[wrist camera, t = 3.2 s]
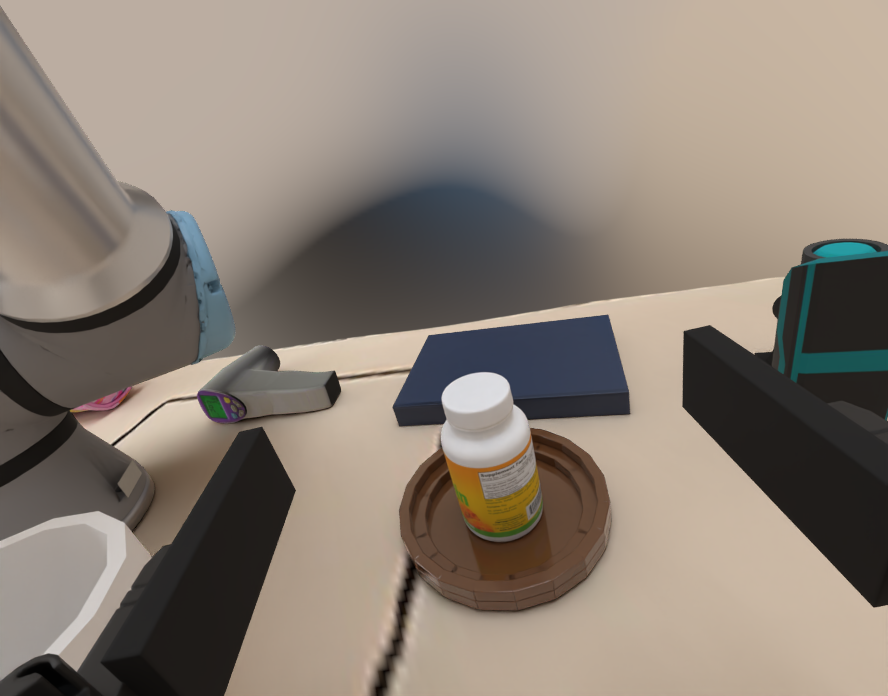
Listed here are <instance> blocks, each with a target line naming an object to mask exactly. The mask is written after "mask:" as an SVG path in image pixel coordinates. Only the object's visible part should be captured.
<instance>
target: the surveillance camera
mask: <svg viewBox="0 0 888 696" xmlns="http://www.w3.org/2000/svg"><path fill="white" fill-rule="evenodd" d="M772 309H773V314H774V315H775V317H776V318H777V319H778V322H777V329H776V337H775V345H774V350H773V351H772V352H764V353H755V356H757V357H758V358H760V359H761V360H763V361H764V362H766V363H767V364H769V365H770V366H772V367H773V368H775V369H776V370H778V371H779V372H781V373H782V374H784V375H785V376H787V377H788V378H790V379H791V380H793V381H794V382H796V383H797V384H799V385H800V386H802V387H803V388H805V389H806V390H808V391H809V392H811V393H812V394H814V395H815V396H817V397H818V398H819V399H821V400H822V401H824V402H825V403H832V402H837V401H841V400H842V401H845V402H847V403H850V404H853V405H855V406H858V407H861V408H864V409H866V410H869V411H872V412H873V413H875V414H877V415H878V416H880V417H881V418H883V419H885V420H886V421H887V417H888V245H887V244H884V243H881V242H877V241H872V240H863V239H836V240H827V241H821V242H817V243H813V244H810V245H808V246H807V247H805V248H804V250H803V254H802V261H801V265H798V266H795V267H792V268H791V270H790V271H789V273H788V274H787V276H786V277H785V279H784V281H783V289H782V295H781V296H780V297H779V298H777V300H776V301H775V302H774V305H773V308H772Z"/></svg>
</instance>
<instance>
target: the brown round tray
mask: <svg viewBox="0 0 888 696" xmlns="http://www.w3.org/2000/svg"><path fill="white" fill-rule="evenodd" d="M530 431H531V437H532V442H533V448H534V454H535V459H536V465H537V470H538V476H539V481H540V487H541V493H542V500H543V511H542V515H541V518H540V520H539V522H538V523H537V524H536V526H535V527H534V528H533V529H532V530H531V531H530V532H529V533H527V534H526V535H524V536H522V537H520V538H518V539H515V540H512V541H507V542H493V541H489V540H485V539H483V538H481V537H479V536H477V535H476V534H474V533H473V532H472V531H471V530H470V529H469V527H468V526H467V525H466V523H465V520H464V518H463V515H462V512H461V508H460V505H459V502H458V498H457V495H456V492H455V488H454V485H453V482H452V478H451V475H450V472H449V468H448V465H447V462H446V458H445V455H444V452H443V448H442V447H441V449H439V450H438V451H437V452H435V453H434V454H433V455H432V456H431V457H430V458H428V459H427V460H426V461H425V462H424V463H423V464H422V465H420V467H419V468H418V469H417V471H416V472H415V474H414V475H413V477H412V478H411V480H410V481H409V482H408V484H407V486H406V489H405V492H404V495H403V499H402V502H401V505H400V509H399V516H400V529H401V537H402V539H403V542H404V544H405V547H406V549H407V552H408V554H409V556H410V558H411V560H412V562H413V563H414V565H415V567H416V569H417V571H418V573H419V575H420V576H421V577H422V578H423V579H424V580H425V581H426V582H428V583H429V584H430V585H431V586H432V587H433V588H435V589H436V590H437V591H438V592H439V593H441V594H442V595H443V596H445V598H448V599H451V600H453V601H456V602H459V603H462V604H464V605H467V606H470V607H473V608H475V609H480V610H521V609H525V608H528V607H531V606H535V605H538V604H541V603H544V602H548V601H551V600H554V599H557V598H558V597H560V596H561V595H562V594H564V593H565V592H567V591H568V590H569V589H571V588H572V587H574V586H575V585H576V584H578V583H579V582H581V581H582V580H583V579H585V578H586V577H587V576H588V574H589V573H590V571H591V570H592V568H593V567H594V566H595V564H596V563H597V561H598V560H599V558H600V557H601V555H602V554H603V552H604V551H605V548H606V544H607V539H608V534H609V529H610V524H611V510H610V500H609V495H608V490H607V486H606V481H605V477H604V475H603V473H602V472H601V470H600V469H599V468H598V466H597V465H596V463H595V462H594V460H593V459H592V458H591V456H590V455H589V454H588V453H587V452H585V451H584V450H582V449H581V448H580V447H578V446H577V445H576V444H574V443H573V442H571V441H570V440H569V439H567V438H564V437H561V436H559V435H556V434H553V433H551V432H548V431H545V430H542V429H534V428H530Z"/></svg>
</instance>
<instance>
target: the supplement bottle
mask: <svg viewBox="0 0 888 696" xmlns="http://www.w3.org/2000/svg"><path fill="white" fill-rule="evenodd" d="M442 404H443V408H444V412H445V415H446V419H447V420H446V421H445V423H444V425H443V427H442V431H441V444H442V448H443V452H444V455H445V458H446V462H447V465H448V468H449V472H450V475H451V478H452V482H453V485H454V488H455V492H456V495H457V498H458V502H459V505H460V508H461V512H462V515H463V518H464V520H465V523H466V525H467V526H468V527H469V529H470V530H471V531H472V532H473V533H474V534H476V535H477V536H479V537H481V538H483V539H485V540H489V541H493V542H507V541H512V540H515V539H518V538H520V537H522V536H524V535H526V534H527V533H529V532H530V531H531V530H532V529H533V528H534V527H535V526H536V524H537V523H538V522H539V520H540V518H541V515H542V511H543V500H542V493H541V487H540V481H539V476H538V470H537V465H536V459H535V454H534V448H533V442H532V437H531V431H530V427H529V423H528V420H527V418H526V416H525V414H524V413H523V412H522V410H521V409H519V408H518V407H517V406H515V405H514V404H513V397H512V394H511V389H510V385H509V383H508V381H507V380H506V379H505V378H504V377H502V376H501V375H498V374H495V373H489V372H480V373H473V374H469V375H466V376H463V377H460V378H458V379H456V380H455V381H453V382H452V383H451V384H449V385H448V386H447V387H446V388H445V390H444V392H443V394H442Z"/></svg>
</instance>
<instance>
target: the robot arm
mask: <svg viewBox="0 0 888 696" xmlns="http://www.w3.org/2000/svg"><path fill="white" fill-rule="evenodd" d="M234 337H235V324H234V321H233V317H232V313H231V310H230V307H229V304H228V301H227V298H226V295H225V293H224V290H223V288H222V285H221V284H220V279H219V277H218V274H217V271H216V268H215V265H214V262H213V260H212V257H211V255H210V252H209V250H208V247H207V245H206V243H205V240H204V238H203V235H202V233H201V231H200V229H199V227H198V225H197V223H196V221H195V219H194V217H193V216H192V215H191V214H189V213H188V212H185V211H177V212H175V211H172V210H171V211H168V212H165V210H164V209H163V208H162V206H161V205H160V204H159V203H158V202H157V201H156V200H155V198H154V197H152V196H151V195H149V194H148V193H147V192H145V191H143V190H141V189H139V188H137V187H135V186H132V185H129V184H127V183H123V182H119V181H117V180H116V179H115V177H114V176H113V174H112V173H111V171H110V170H109V168H108V167H107V165H106V164H105V162H104V161H103V160H102V158H101V156H100V155H99V153H98V152H97V150H96V149H95V147H94V146H93V144H92V143H91V141H90V140H89V138H88V137H87V135H86V134H85V132H84V131H83V129H82V128H81V127H80V125H79V123H78V122H77V120H76V119H75V117H74V116H73V114H72V113H71V111H70V110H69V108H68V107H67V106H66V104H65V102H64V101H63V99H62V98H61V96H60V95H59V93H58V92H57V90H56V89H55V87H54V86H53V84H52V83H51V81H50V80H49V78H48V77H47V75H46V74H45V72H44V71H43V69H42V68H41V66H40V65H39V63H38V62H37V60H36V59H35V57H34V56H33V54H32V53H31V51H30V50H29V48H28V47H27V45H26V44H25V42H24V41H23V39H22V38H21V37H20V35H19V33H18V32H17V30H16V29H15V27H14V26H13V24H12V23H11V21H10V20H9V18H8V17H7V15H6V14H5V12H4V11H3V9H2V8H1V6H0V541H1V540H4V539H6V538H8V537H11V536H13V535H16V534H18V533H20V532H23V531H25V530H27V529H30V528H32V527H34V526H37V525H39V524H41V523H44V522H46V521H49V520H51V519H53V518H59V517H65V516H71V515H77V514H83V513H89V512H95V511H99V512H102V513H104V514H106V515H108V516H110V517H113V518H115V519H117V520H119V521H122V522H124V523H125V524H126V525H127V526H128V528H129V529H130V530H131V531H132V530H133V529H134V528H135V527H136V525H137V524H138V523H139V522H140V520H141V519H142V517H143V516H144V515H145V513H146V511H147V510H148V508H149V506H150V504H151V502H152V499H153V496H154V491H155V486H154V482H153V480H152V478H151V477H150V475H149V474H148V473H147V471H146V470H145V469H144V467H142V466H141V465H140V464H139V463H138V462H137V461H136V460H134V459H133V458H131V457H129V456H128V455H126V454H125V453H123V452H121V451H120V450H118V449H116V448H115V447H113V446H112V445H110V444H108V443H107V442H105V441H104V440H102V439H100V438H99V437H97V436H96V435H94V434H92V433H91V432H89V431H87V430H86V429H85V428H83V427H82V426H81V425H80V423H79V422H78V421H77V420H76V418H75V417H74V416H73V414H72V413H71V412H70V410H72V409H74V408H77V407H79V406H82V405H85V404H87V403H90V402H92V401H95V400H97V399H100V398H103V397H105V396H108V395H110V394H113V393H115V392H118V391H121V390H123V389H126V388H128V387H131V386H134V385H136V384H139V383H142V382H144V381H147V380H150V379H152V378H155V377H158V376H160V375H163V374H166V373H168V372H171V371H174V370H177V369H179V368H182V367H185V366H187V365H190V364H191V365H193V364H196V363H199V362H200V361H201V360H202V359H203V358H205V357H207V356H209V355H212V354H214V353H216V352H218V351H220V350H223V349H225V348H226V347H228V346H229V345H230V344H231V343H232V341H233V339H234ZM682 407H683V408H684V409H685V410H686V411H687V412H688V413H689V414H690V415H691V416H692V417H693V418H694V419H695V420H696V421H697V422H698V423H699V424H700V426H701V427H702V428H703V429H704V430H705V431H706V432H707V433H708V434H709V435H710V436H711V437H712V438H713V439H714V440H715V441H716V442H717V443H718V444H719V446H720V447H721V448H722V449H723V450H724V451H725V452H726V453H727V454H728V455H729V456H730V457H731V458H732V459H733V460H734V461H735V462H736V463H737V464H738V465H739V467H740V468H741V469H742V470H743V471H744V472H745V473H746V474H747V475H748V476H749V477H750V478H751V479H752V480H753V481H754V482H755V483H756V484H757V485H758V486H759V488H760V489H761V490H762V491H763V492H764V493H765V494H766V495H767V496H768V497H769V498H770V499H771V500H772V501H773V502H774V503H775V504H776V505H777V506H778V508H779V509H780V510H781V511H782V512H783V513H784V514H785V515H786V516H787V517H788V518H789V519H790V520H791V521H792V522H793V523H794V524H795V525H796V526H797V527H798V529H799V530H800V531H801V532H802V533H803V534H804V535H805V536H806V537H807V538H808V539H809V540H810V541H811V542H812V543H813V544H814V545H815V546H816V547H817V548H818V550H819V551H820V552H821V553H822V554H823V555H824V556H825V557H826V558H827V559H828V560H829V561H830V562H831V563H832V564H833V565H834V566H835V567H836V568H837V570H838V571H839V572H840V573H841V574H842V575H843V576H844V577H845V578H846V579H847V580H848V581H849V582H850V583H851V584H852V585H853V586H854V587H855V588H856V589H857V591H858V592H859V593H860V594H861V595H862V596H863V597H864V598H865V599H866V600H867V601H868V602H869V603H870V604H871V605H872V606H873V607H879V606H885V605H888V421H886V420H885V419H883V418H881V417H880V416H878V415H877V414H875V413H873V412H872V411H869V410H866V409H864V408H861V407H858V406H855V405H853V404H850V403H847V402H845V401H842V400H841V401H837V402H832V403H825V402H824V401H822V400H821V399H819V398H818V397H817V396H815V395H814V394H812V393H811V392H809V391H808V390H806V389H805V388H803V387H802V386H800V385H799V384H797V383H796V382H794V381H793V380H791V379H790V378H788V377H787V376H785V375H784V374H782V373H781V372H779V371H778V370H776V369H775V368H773V367H772V366H770V365H769V364H767V363H766V362H764V361H763V360H761V359H760V358H758V357H757V356H755V355H754V354H752V353H751V352H749V351H748V350H746V349H745V348H743V347H742V346H740V345H739V344H737V343H736V342H734V341H733V340H731V339H730V338H728V337H727V336H725V335H724V334H722V333H721V332H719V331H718V330H716V329H715V328H713V327H712V326H710V325H709V326H704V327H700V328H695V329H691V330H687V331H684V345H683V406H682ZM295 491H296V490H295V488H294V486H293V484H292V482H291V480H290V478H289V477H288V475H287V473H286V471H285V469H284V467H283V465H282V463H281V461H280V459H279V458H278V456H277V454H276V452H275V450H274V448H273V446H272V444H271V442H270V440H269V439H268V437H267V435H266V433H265V431H264V429H263V427H259V428H255V429H251V430H246V431H242V432H239V433H238V435H237V437H236V438H235V440H234V442H233V443H232V445H231V447H230V448H229V450H228V451H227V453H226V455H225V456H224V458H223V460H222V461H221V463H220V465H219V466H218V468H217V470H216V471H215V473H214V475H213V476H212V478H211V480H210V481H209V483H208V485H207V486H206V488H205V489H204V491H203V493H202V494H201V496H200V498H199V499H198V501H197V503H196V504H195V506H194V508H193V509H192V511H191V513H190V514H189V516H188V518H187V519H186V521H185V523H184V524H183V526H182V527H181V529H180V531H179V532H178V534H177V536H176V537H175V539H174V541H173V542H172V544H171V545H166V546H163V547H162V548H161V549H160V550H159V551H158V552H157V553H156V554H155V555H154V556H153V557H152V558H151V559H150V560H149V561H148V562H147V563H146V565H145V566H144V567H143V569H142V570H141V572H140V573H139V575H138V576H137V578H136V580H135V581H134V583H133V584H132V586H131V590H130V591H128V592H127V594H126V595H125V597H124V598H123V600H122V602H121V603H120V608H118V609H116V611H115V613H114V614H113V616H112V617H111V619H110V620H109V622H108V624H107V625H106V627H105V628H104V630H103V631H102V633H101V634H100V636H99V638H98V639H97V641H96V642H95V644H94V645H93V647H92V649H91V650H90V652H89V653H88V655H87V656H86V658H85V660H84V661H83V663H82V664H81V666H80V667H79V669H78V671H77V672H76V671H75V670H74V669H73V668H72V667H71V666H70V665H68V664H67V663H66V662H65V661H64V660H63V659H62V658H61V657H60V656H58V655H55V654H50V653H48V654H44V655H41V656H38V657H34V658H33V659H31V660H29V661H27V662H26V663H24V664H22V665H21V666H19V667H17V668H16V669H15V670H13V671H12V672H11V673H10V674H8V675H7V676H6V677H5V678H3V679H2V680H1V681H0V696H224V694H225V692H226V689H227V686H228V683H229V680H230V677H231V674H232V672H233V669H234V666H235V663H236V660H237V657H238V654H239V652H240V649H241V646H242V643H243V640H244V637H245V634H246V631H247V629H248V626H249V623H250V620H251V617H252V614H253V611H254V609H255V606H256V603H257V600H258V597H259V594H260V591H261V589H262V586H263V583H264V580H265V577H266V574H267V571H268V568H269V566H270V563H271V560H272V557H273V554H274V551H275V548H276V546H277V543H278V540H279V537H280V534H281V531H282V528H283V526H284V523H285V520H286V517H287V514H288V511H289V508H290V505H291V503H292V500H293V497H294V494H295Z"/></svg>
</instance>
